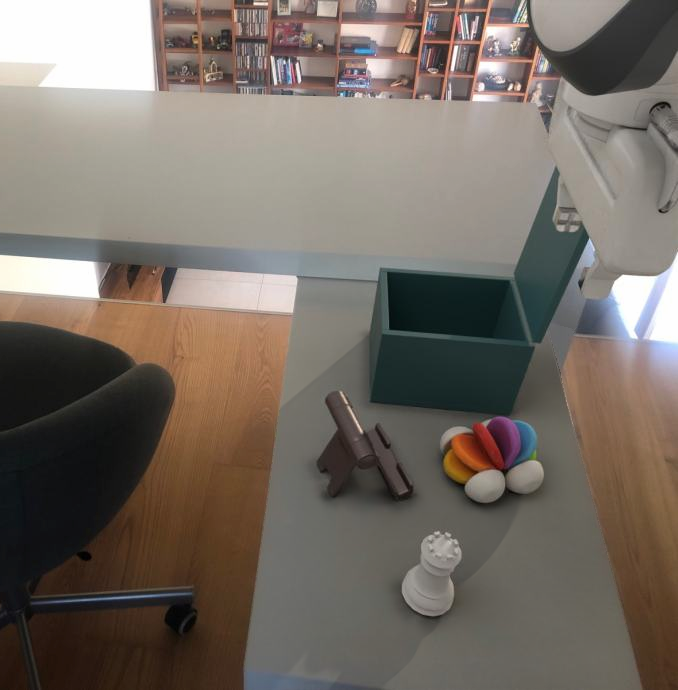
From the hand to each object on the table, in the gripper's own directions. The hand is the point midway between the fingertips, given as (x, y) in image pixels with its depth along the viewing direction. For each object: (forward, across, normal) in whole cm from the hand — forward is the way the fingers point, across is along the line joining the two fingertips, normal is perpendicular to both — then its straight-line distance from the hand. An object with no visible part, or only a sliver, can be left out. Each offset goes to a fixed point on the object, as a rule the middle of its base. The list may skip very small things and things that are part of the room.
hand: (576, 258), depth 54 cm
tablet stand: (+27, -1, +14) cm, 31 cm away
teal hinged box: (+27, +16, +5) cm, 32 cm away
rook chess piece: (+27, -14, +8) cm, 32 cm away
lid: (+8, +16, -3) cm, 18 cm away
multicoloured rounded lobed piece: (+27, +1, +1) cm, 27 cm away
